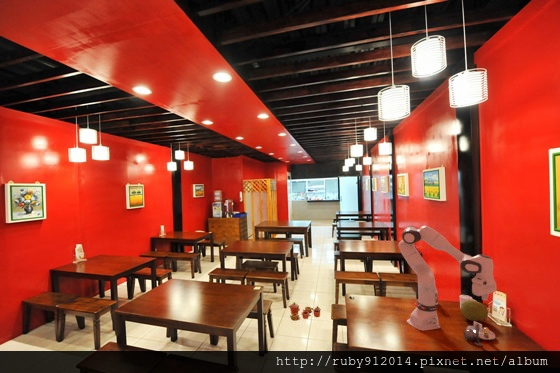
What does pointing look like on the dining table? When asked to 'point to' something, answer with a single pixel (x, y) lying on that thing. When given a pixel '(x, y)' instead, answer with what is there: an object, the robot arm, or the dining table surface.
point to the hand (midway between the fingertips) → (484, 299)
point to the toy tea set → (305, 313)
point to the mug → (465, 299)
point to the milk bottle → (436, 296)
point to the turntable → (484, 333)
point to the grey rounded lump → (469, 334)
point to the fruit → (474, 310)
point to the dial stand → (477, 333)
